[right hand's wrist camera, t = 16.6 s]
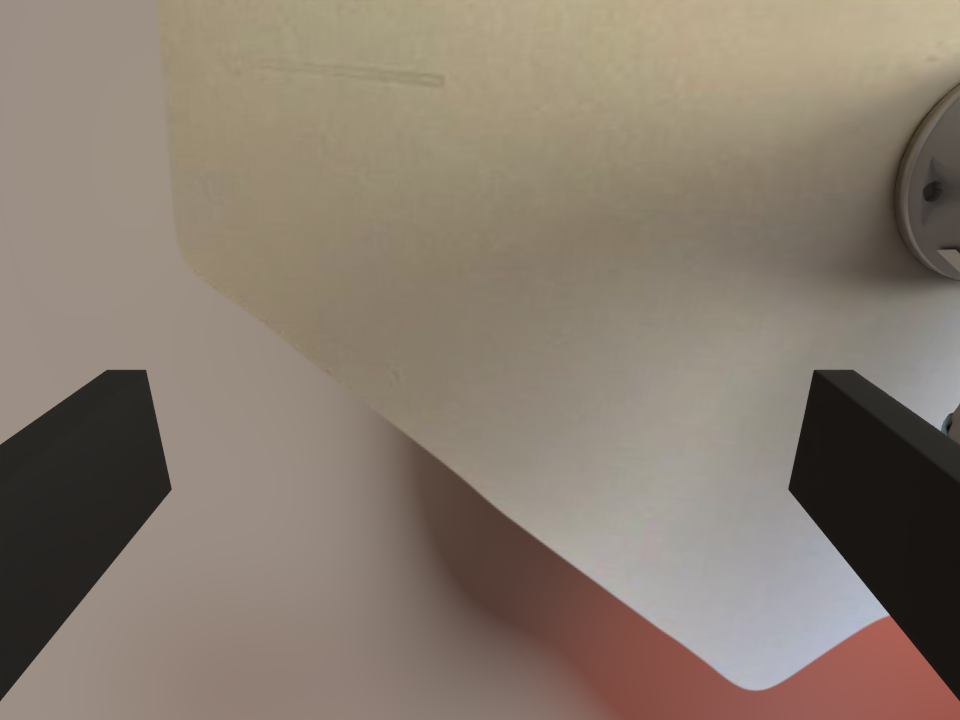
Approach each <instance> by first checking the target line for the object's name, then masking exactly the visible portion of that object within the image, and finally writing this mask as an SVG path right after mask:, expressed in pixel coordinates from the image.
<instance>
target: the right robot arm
mask: <svg viewBox="0 0 960 720" xmlns="http://www.w3.org/2000/svg"><path fill="white" fill-rule="evenodd" d="M895 214H896V220H897V224H898V228H899V231H900V233H901V236H902V238H903V240H904V242H905V244H906V246H907V247H908V249H909V250H910V251H911V253H912V254H913V255H914V256H915V257H916V258H917V259H918V260H919V261H920V262H921V263H923V264H924V265H925V266H927V267H928V268H930V269H931V270H933V271H935V272H937V273H939V274H942V275H944V276H947V277H950V278H953V279H956V280H959V281H960V84H959V85H958V86H957V87H955V88H954V89H953V90H952V91H951V92H949V93H948V94H947V95H946V96H945V97H944V98H943V99H942V100H941V101H940V102H939V103H938V104H937V105H936V106H935V107H934V108H933V109H932V111H931V112H930V113H929V114H928V115H927V117H926V118H925V119H924V121H923V122H922V123H921V125H920V126H919V128H918V129H917V131H916V132H915V134H914V136H913V138H912V139H911V141H910V143H909V145H908V147H907V149H906V152H905V154H904V156H903V159H902V162H901V165H900V168H899V172H898V176H897V181H896V187H895ZM788 490H789V491H790V492H791V493H792V495H793V496H794V497H795V498H796V499H797V501H798V502H799V503H800V504H801V506H802V507H803V508H804V509H805V511H806V512H807V513H808V514H809V516H810V517H811V518H812V519H813V520H814V522H815V523H816V524H817V525H818V527H819V528H820V529H821V530H822V532H823V533H824V534H825V535H826V537H827V538H828V539H829V540H830V541H831V543H832V544H833V545H834V546H835V548H836V549H837V550H838V551H839V553H840V554H841V555H842V556H843V558H844V559H845V560H846V561H847V562H848V564H849V565H850V566H851V567H852V569H853V570H854V571H855V572H856V574H857V575H858V576H859V577H860V579H861V580H862V581H863V582H864V583H865V585H866V586H867V587H868V588H869V590H870V591H871V592H872V593H873V595H874V596H875V597H876V598H877V600H878V601H879V602H880V603H881V604H882V606H883V607H884V608H885V609H886V611H887V612H888V613H889V614H890V616H891V617H892V618H893V619H894V621H895V622H896V623H897V624H898V625H899V627H900V628H901V629H902V630H903V632H904V633H905V634H906V635H907V637H908V638H909V639H910V640H911V642H912V643H913V644H914V645H915V646H916V648H917V649H918V650H919V651H920V653H921V654H922V655H923V656H924V658H925V659H926V660H927V661H928V663H929V664H930V665H931V666H932V667H933V669H934V670H935V671H936V672H937V674H938V675H939V676H940V677H941V679H942V680H943V681H944V682H945V684H946V685H947V686H948V687H949V688H950V690H951V691H952V692H953V693H954V695H955V696H956V697H957V698H958V700H959V701H960V404H959V406H958V407H957V409H956V410H955V412H954V413H951V414H949V415H948V416H947V418H946V419H945V420H944V422H943V425H942V427H941V431H939V430H938V429H937V428H935V427H934V426H932V425H931V424H929V423H928V422H927V421H925V420H924V419H922V418H921V417H919V416H918V415H917V414H915V413H914V412H912V411H911V410H909V409H908V408H907V407H905V406H904V405H902V404H901V403H899V402H898V401H897V400H895V399H894V398H892V397H891V396H889V395H888V394H887V393H885V392H884V391H882V390H881V389H879V388H878V387H877V386H875V385H874V384H872V383H871V382H869V381H868V380H867V379H865V378H864V377H862V376H861V375H859V374H858V373H857V372H855V371H854V370H814V372H813V377H812V381H811V386H810V391H809V395H808V400H807V405H806V409H805V414H804V419H803V423H802V428H801V433H800V437H799V442H798V447H797V451H796V456H795V461H794V465H793V470H792V475H791V479H790V484H789V489H788ZM170 491H171V484H170V479H169V475H168V470H167V465H166V461H165V456H164V451H163V447H162V442H161V438H160V433H159V428H158V423H157V419H156V414H155V410H154V405H153V400H152V395H151V391H150V386H149V381H148V377H147V372H146V370H106V371H105V372H103V373H102V374H101V375H99V376H98V377H96V378H95V379H93V380H92V381H91V382H89V383H88V384H86V385H85V386H83V387H82V388H81V389H79V390H78V391H76V392H75V393H73V394H72V395H71V396H69V397H68V398H66V399H65V400H63V401H62V402H61V403H59V404H58V405H56V406H55V407H53V408H52V409H51V410H49V411H48V412H46V413H45V414H43V415H42V416H41V417H39V418H38V419H36V420H35V421H33V422H32V423H31V424H29V425H28V426H26V427H25V428H23V429H22V430H21V431H19V432H18V433H16V434H15V435H14V436H12V437H11V438H9V439H8V440H6V441H5V442H4V443H2V444H1V445H0V701H1V700H2V698H3V697H4V696H5V695H6V693H7V692H8V691H9V690H10V688H11V687H12V686H13V685H14V684H15V682H16V681H17V680H18V679H19V677H20V676H21V675H22V674H23V672H24V671H25V670H26V669H27V667H28V666H29V665H30V664H31V662H32V661H33V660H34V659H35V658H36V656H37V655H38V654H39V653H40V651H41V650H42V649H43V648H44V646H45V645H46V644H47V643H48V642H49V640H50V639H51V638H52V637H53V635H54V634H55V633H56V632H57V630H58V629H59V628H60V627H61V625H62V624H63V623H64V622H65V621H66V619H67V618H68V617H69V616H70V614H71V613H72V612H73V611H74V609H75V608H76V607H77V606H78V604H79V603H80V602H81V601H82V599H83V598H84V597H85V596H86V595H87V593H88V592H89V591H90V590H91V588H92V587H93V586H94V585H95V583H96V582H97V581H98V580H99V579H100V577H101V576H102V575H103V574H104V572H105V571H106V570H107V569H108V567H109V566H110V565H111V564H112V562H113V561H114V560H115V559H116V558H117V556H118V555H119V554H120V553H121V551H122V550H123V549H124V548H125V546H126V545H127V544H128V543H129V541H130V540H131V539H132V538H133V537H134V535H135V534H136V533H137V532H138V530H139V529H140V528H141V527H142V525H143V524H144V523H145V522H146V520H147V519H148V518H149V517H150V515H151V514H152V513H153V512H154V511H155V509H156V508H157V507H158V506H159V504H160V503H161V502H162V501H163V499H164V498H165V497H166V496H167V495H168V493H169V492H170Z"/></svg>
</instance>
